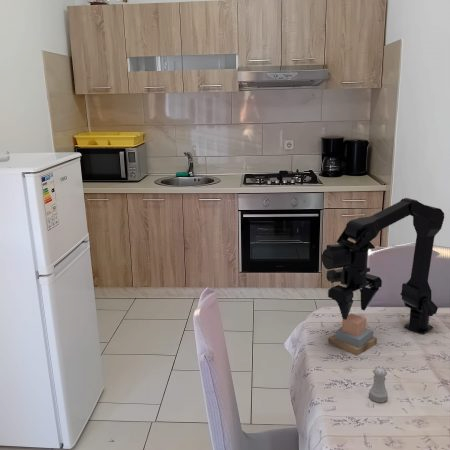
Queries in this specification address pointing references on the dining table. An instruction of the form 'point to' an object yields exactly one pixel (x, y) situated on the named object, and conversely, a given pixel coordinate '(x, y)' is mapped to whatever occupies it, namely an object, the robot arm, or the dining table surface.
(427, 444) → the dining table surface
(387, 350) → the dining table surface
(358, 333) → the terracotta block
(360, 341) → the slate top block
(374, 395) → the grey chess pawn
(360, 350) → the walnut base block
